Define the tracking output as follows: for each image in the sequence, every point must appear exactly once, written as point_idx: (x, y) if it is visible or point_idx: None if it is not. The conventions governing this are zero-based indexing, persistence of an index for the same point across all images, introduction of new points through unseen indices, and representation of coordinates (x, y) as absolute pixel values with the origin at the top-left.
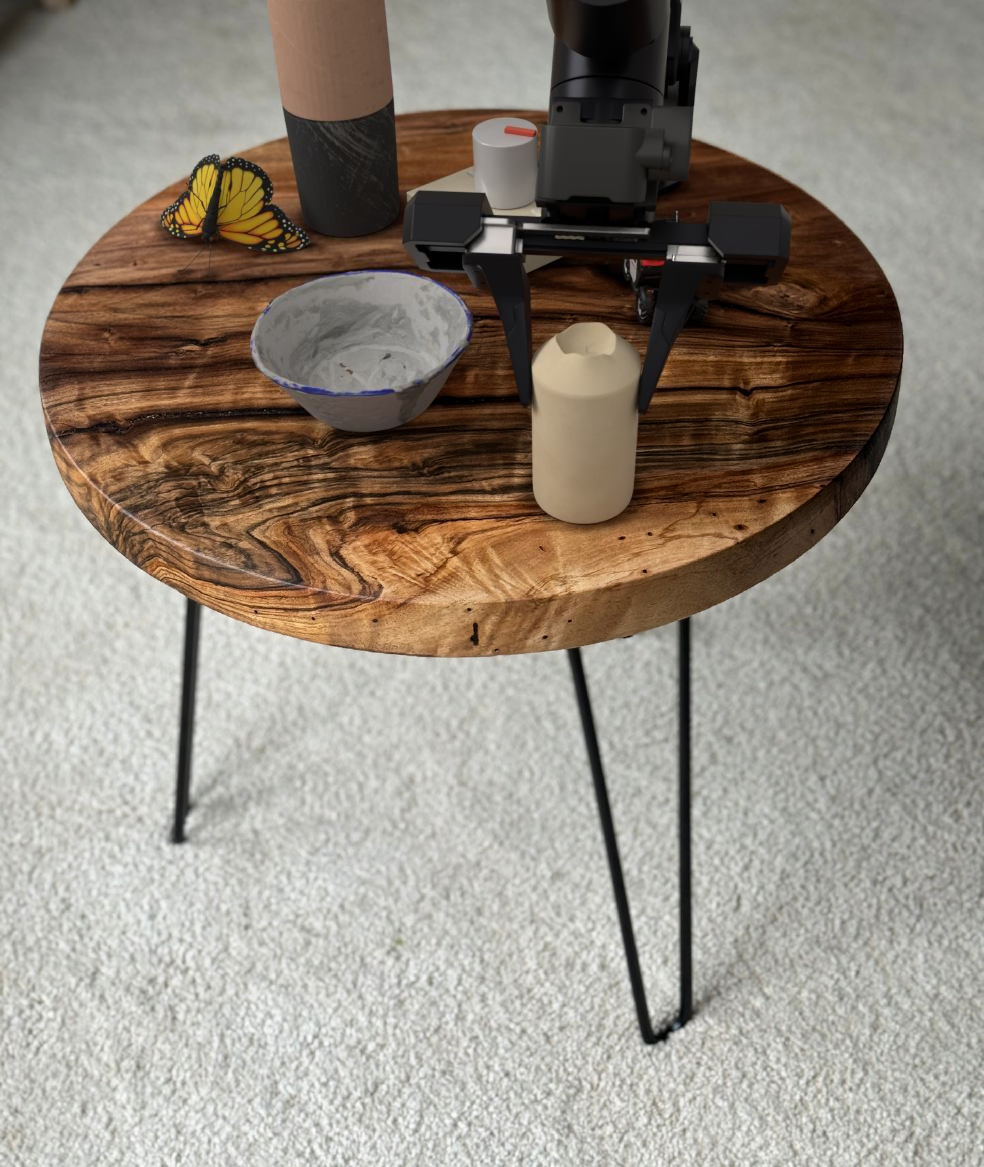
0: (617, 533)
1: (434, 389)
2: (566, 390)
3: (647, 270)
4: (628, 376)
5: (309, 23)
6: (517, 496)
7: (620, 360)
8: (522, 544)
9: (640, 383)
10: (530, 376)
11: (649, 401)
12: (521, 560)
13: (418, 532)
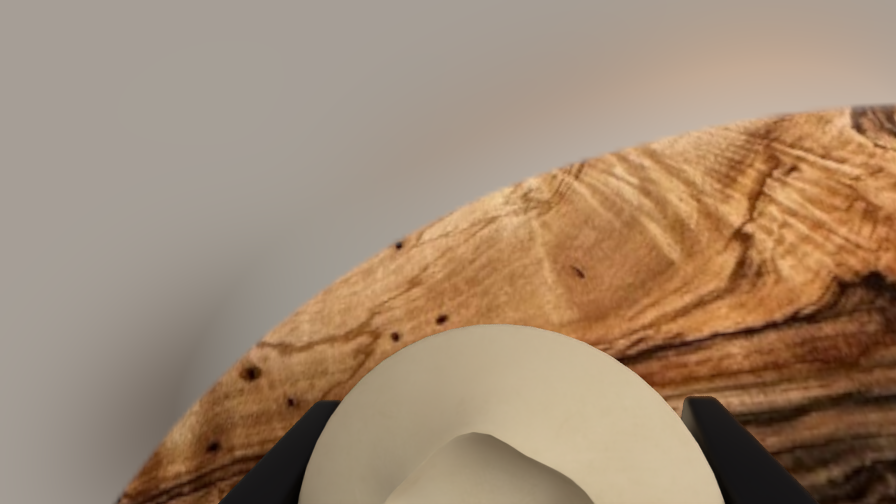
0: None
1: None
2: (549, 339)
3: None
4: (330, 438)
5: None
6: None
7: (348, 496)
8: (616, 277)
9: (307, 456)
10: (714, 472)
11: (299, 420)
12: (609, 236)
13: (835, 280)
